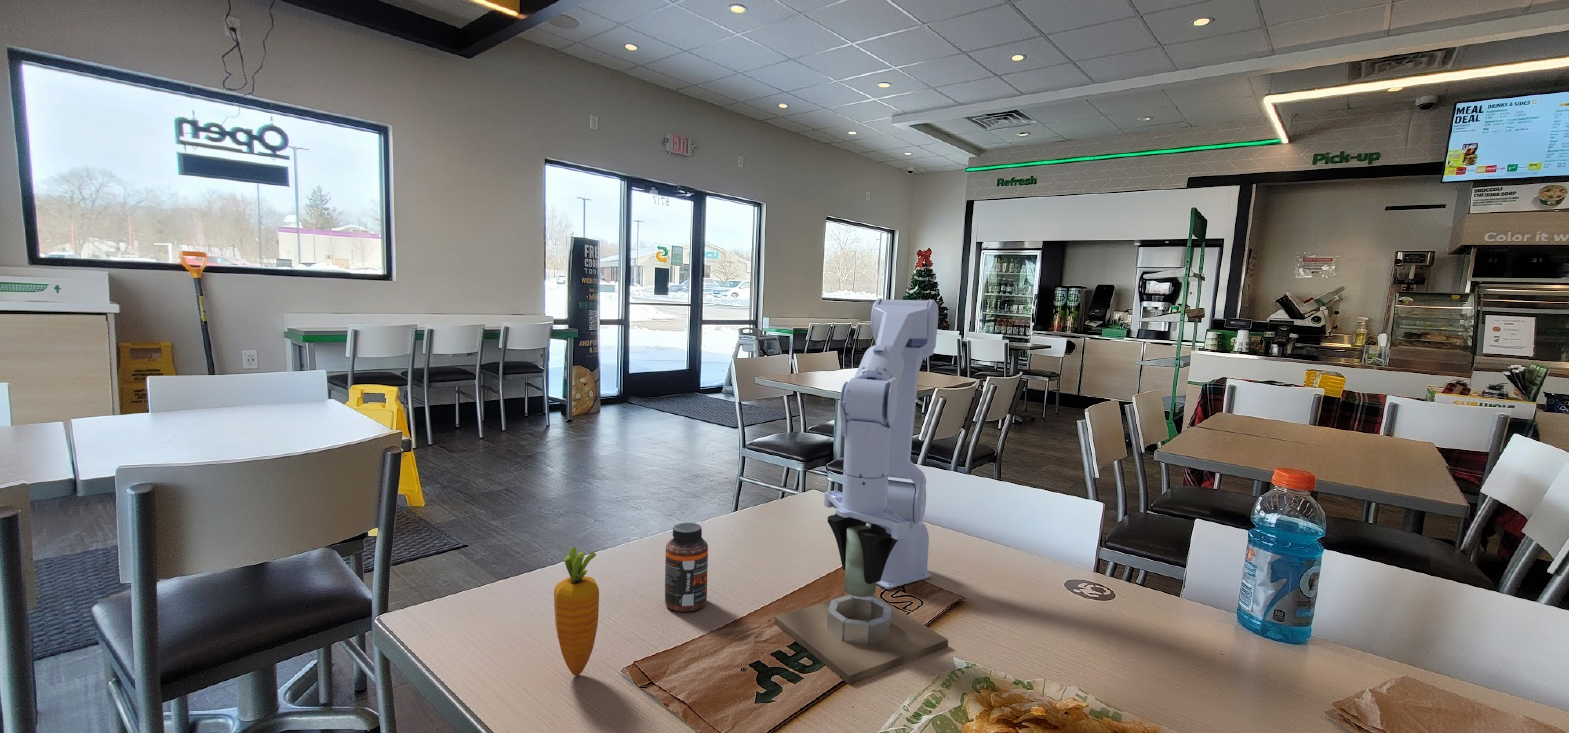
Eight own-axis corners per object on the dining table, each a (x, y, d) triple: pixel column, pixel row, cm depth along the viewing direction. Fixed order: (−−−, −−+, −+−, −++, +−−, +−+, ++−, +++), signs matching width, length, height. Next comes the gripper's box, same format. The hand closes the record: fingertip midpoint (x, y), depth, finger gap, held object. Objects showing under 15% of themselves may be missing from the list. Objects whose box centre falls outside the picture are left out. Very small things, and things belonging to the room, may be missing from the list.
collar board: (866, 596, 96) (866, 590, 96) (947, 647, 83) (948, 639, 83) (774, 623, 88) (774, 616, 87) (848, 684, 74) (849, 676, 74)
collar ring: (863, 608, 91) (863, 590, 90) (903, 633, 84) (903, 615, 84) (816, 622, 86) (817, 604, 86) (854, 650, 80) (855, 630, 79)
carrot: (560, 664, 77) (559, 540, 75) (603, 663, 77) (603, 540, 75) (548, 689, 72) (547, 558, 70) (594, 688, 72) (594, 557, 71)
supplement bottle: (699, 616, 89) (700, 536, 88) (658, 611, 90) (658, 532, 89) (712, 597, 95) (713, 521, 94) (673, 592, 96) (674, 518, 95)
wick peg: (862, 581, 87) (864, 523, 86) (882, 592, 84) (884, 532, 83) (838, 587, 85) (840, 528, 84) (857, 599, 82) (859, 538, 81)
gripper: (807, 463, 87) (804, 561, 88) (879, 491, 75) (874, 604, 76) (849, 457, 91) (845, 551, 92) (924, 483, 79) (918, 591, 80)
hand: (861, 575), depth 84 cm, fingers closed on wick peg, 4 cm apart
